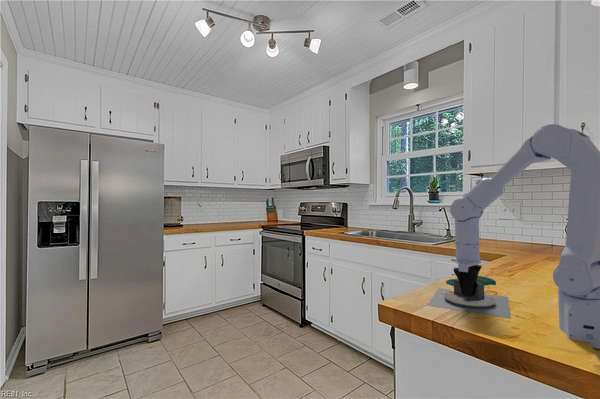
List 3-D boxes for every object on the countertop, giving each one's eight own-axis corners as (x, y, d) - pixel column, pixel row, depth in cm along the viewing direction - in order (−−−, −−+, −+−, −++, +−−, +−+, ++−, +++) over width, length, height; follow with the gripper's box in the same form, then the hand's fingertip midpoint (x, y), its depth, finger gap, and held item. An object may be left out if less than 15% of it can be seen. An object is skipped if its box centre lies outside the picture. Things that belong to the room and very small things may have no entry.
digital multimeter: (444, 287, 100) (443, 279, 100) (477, 282, 105) (477, 274, 105) (462, 294, 93) (462, 284, 93) (497, 288, 98) (497, 279, 98)
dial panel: (510, 323, 69) (510, 317, 69) (427, 309, 79) (427, 304, 79) (508, 301, 84) (508, 296, 84) (438, 291, 94) (438, 287, 94)
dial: (505, 302, 79) (504, 283, 79) (477, 311, 73) (476, 290, 73) (462, 291, 90) (461, 274, 90) (434, 297, 84) (434, 280, 84)
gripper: (456, 239, 90) (457, 284, 90) (445, 245, 78) (446, 297, 78) (483, 240, 86) (484, 288, 85) (476, 247, 74) (477, 302, 74)
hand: (468, 293), depth 82 cm, fingers closed on dial, 4 cm apart
